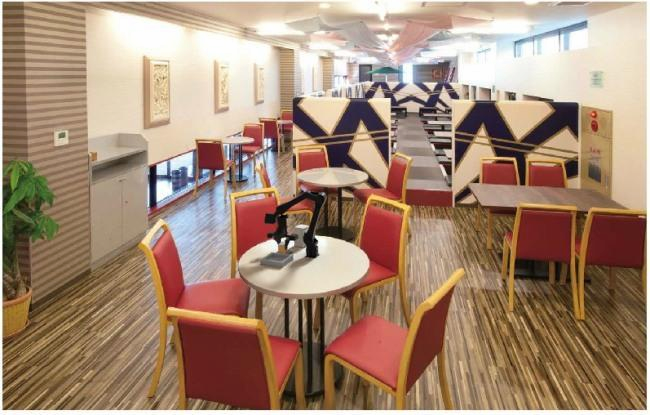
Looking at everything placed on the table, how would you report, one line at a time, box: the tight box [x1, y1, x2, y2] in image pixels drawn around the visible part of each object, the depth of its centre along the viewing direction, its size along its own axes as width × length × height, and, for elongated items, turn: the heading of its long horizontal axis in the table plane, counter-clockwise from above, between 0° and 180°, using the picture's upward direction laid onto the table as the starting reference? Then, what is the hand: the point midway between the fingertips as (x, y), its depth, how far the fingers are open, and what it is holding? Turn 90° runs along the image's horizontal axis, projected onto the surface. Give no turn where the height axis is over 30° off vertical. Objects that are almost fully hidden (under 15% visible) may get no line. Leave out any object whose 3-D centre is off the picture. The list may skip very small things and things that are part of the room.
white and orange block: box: [277, 241, 289, 254], centre depth 313 cm, size 4×6×6 cm, turn 158°
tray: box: [260, 251, 294, 269], centre depth 300 cm, size 14×14×3 cm
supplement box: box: [293, 223, 309, 249], centre depth 328 cm, size 7×7×13 cm
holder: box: [275, 249, 293, 255], centre depth 314 cm, size 8×10×1 cm
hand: (283, 249), depth 314 cm, fingers closed on white and orange block, 3 cm apart
